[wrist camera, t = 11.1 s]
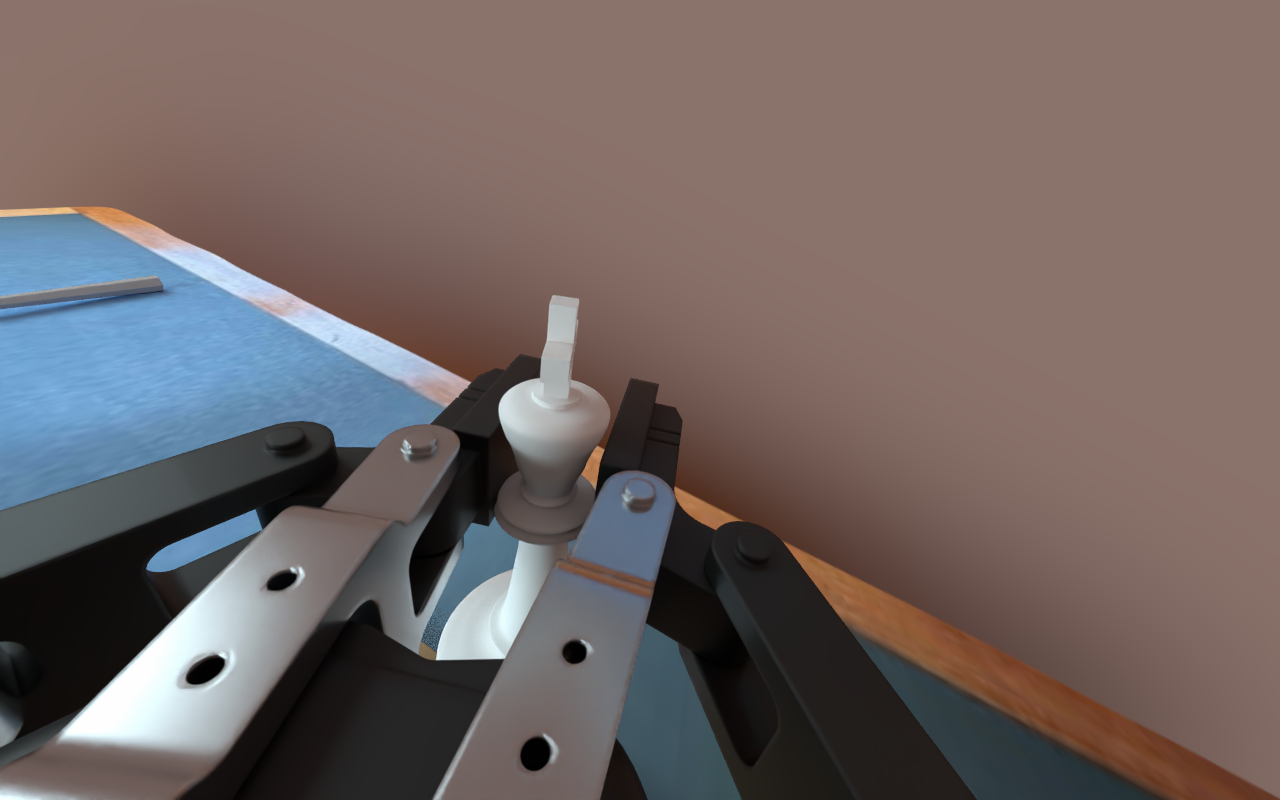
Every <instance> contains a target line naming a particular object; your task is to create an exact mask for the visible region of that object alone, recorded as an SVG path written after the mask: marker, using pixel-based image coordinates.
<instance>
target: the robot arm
mask: <svg viewBox="0 0 1280 800" xmlns="http://www.w3.org/2000/svg"><path fill="white" fill-rule="evenodd" d="M540 371H541V358H537V357H532V356H527V355H523V354H520V355H519V356H518V357H517V358H516V359H515V360H514V361H513V362H512V363H511V364H510V366H509V367H508V368H507V369H506V370H501V369H493V370H491V371H489V372H486V373H484V374H482V375H479V376H478V377H477V378H476V379H475V380H474V381H473V382H472V383H471V384H470V385H469V386H468V389H465V390H464V391H463V392H462V393H461V394H460V395H459V398H456V399H455V400H454V401H453V402H452V403H451V404H450V405H449V406H448V407H447V408H446V409H445V410H444V411H443V412H442V413H441V414H440V415H439V416H438V417H437V418H436V419H435V420H434V421H433V422H432V423H431V424H430V425H427V424H423V425H413V426H408V427H405V428H402V429H399V430H396V431H394V432H392V433H391V434H389V435H388V436H387V437H385V438H384V439H383V440H382V441H381V443H380V444H379V445H378V446H377V447H373V448H362V447H336V446H335V441H334V436H333V433H332V431H331V430H330V429H329V428H327V427H326V426H324V425H322V424H318V423H314V422H305V421H296V422H286V423H281V424H276V425H272V426H269V427H266V428H262V429H259V430H256V431H253V432H250V433H246V434H243V435H240V436H237V437H234V438H230V439H227V440H224V441H221V442H218V443H215V444H211V445H208V446H205V447H202V448H199V449H195V450H192V451H189V452H186V453H183V454H179V455H176V456H173V457H170V458H167V459H163V460H160V461H157V462H154V463H151V464H147V465H144V466H141V467H138V468H135V469H131V470H128V471H125V472H122V473H119V474H116V475H112V476H109V477H106V478H103V479H100V480H96V481H93V482H90V483H87V484H84V485H80V486H77V487H74V488H71V489H68V490H64V491H61V492H58V493H55V494H52V495H48V496H45V497H42V498H39V499H36V500H32V501H29V502H26V503H23V504H20V505H17V506H13V507H10V508H7V509H4V510H1V511H0V800H648V799H647V796H646V794H645V791H644V789H643V787H642V784H641V782H640V779H639V777H638V775H637V773H636V770H635V768H634V766H633V764H632V762H631V761H630V759H629V757H628V755H627V754H626V752H625V750H624V748H623V747H622V745H621V744H620V742H619V741H618V740H617V738H616V735H617V731H618V728H619V724H620V720H621V716H622V712H623V708H624V704H625V700H626V697H627V693H628V689H629V685H630V681H631V677H632V673H633V670H634V666H635V662H636V658H637V654H638V650H639V646H640V642H641V639H642V635H643V631H644V627H645V623H647V624H648V625H650V626H652V627H653V628H655V629H657V630H658V631H660V632H662V633H663V634H665V635H666V636H668V637H670V638H671V639H673V640H675V641H676V642H678V647H679V651H680V654H681V657H682V659H683V662H684V664H685V666H686V669H687V671H688V674H689V676H690V678H691V681H692V683H693V685H694V688H695V690H696V692H697V695H698V697H699V700H700V702H701V704H702V707H703V709H704V711H705V714H706V716H707V718H708V721H709V723H710V726H711V728H712V730H713V733H714V735H715V737H716V740H717V742H718V744H719V747H720V749H721V752H722V754H723V756H724V759H725V761H726V763H727V766H728V768H729V770H730V773H731V775H732V778H733V780H734V782H735V785H736V787H737V789H738V792H739V794H740V796H741V799H742V800H977V799H976V798H975V797H974V795H973V794H972V793H971V791H970V790H969V789H968V787H967V786H966V785H965V783H964V782H963V781H962V779H961V778H960V777H959V775H958V774H957V773H956V771H955V770H954V769H953V767H952V766H951V765H950V763H949V762H948V761H947V759H946V758H945V757H944V755H943V754H942V753H941V751H940V750H939V749H938V747H937V746H936V745H935V743H934V742H933V741H932V739H931V738H930V737H929V735H928V734H927V733H926V731H925V730H924V729H923V727H922V726H921V725H920V723H919V722H918V721H917V719H916V718H915V717H914V715H913V714H912V713H911V711H910V710H909V709H908V708H907V706H906V705H905V704H904V702H903V701H902V700H901V698H900V697H899V696H898V694H897V693H896V692H895V690H894V689H893V688H892V686H891V685H890V684H889V682H888V681H887V680H886V678H885V677H884V676H883V674H882V673H881V672H880V670H879V669H878V668H877V666H876V665H875V664H874V662H873V661H872V660H871V658H870V657H869V656H868V654H867V653H866V652H865V650H864V649H863V648H862V646H861V645H860V644H859V642H858V641H857V640H856V638H855V637H854V636H853V634H852V633H851V632H850V630H849V629H848V628H847V626H846V625H845V624H844V622H843V621H842V620H841V618H840V617H839V616H838V614H837V613H836V612H835V610H834V609H833V608H832V606H831V605H830V604H829V602H828V601H827V600H826V598H825V597H824V596H823V594H822V593H821V592H820V590H819V589H818V588H817V586H816V585H815V584H814V582H813V581H812V580H811V578H810V577H809V576H808V575H807V573H806V572H805V571H804V569H803V568H802V567H801V565H800V564H799V563H798V561H797V560H796V559H795V557H794V556H793V555H792V553H791V552H790V551H789V549H788V548H787V547H786V545H785V544H784V543H783V542H782V541H781V540H780V539H779V538H778V537H777V536H776V535H774V534H773V533H772V532H770V531H769V530H767V529H765V528H763V527H761V526H759V525H756V524H753V523H749V522H743V521H735V522H729V523H726V524H724V525H722V526H720V527H719V528H718V529H717V530H714V529H712V528H710V527H708V526H706V525H704V524H702V523H700V522H699V521H697V520H695V519H694V518H692V517H691V516H689V515H688V514H687V513H686V512H685V511H684V510H683V509H682V507H681V506H680V505H679V503H678V502H677V499H676V497H675V493H674V486H675V478H676V469H677V461H678V453H679V445H680V437H681V436H680V435H681V428H682V419H681V417H680V415H679V413H678V412H677V410H676V408H675V407H670V406H665V405H661V404H657V403H655V401H656V396H657V391H658V386H659V384H656V383H652V382H647V381H642V380H638V379H633V378H631V379H630V381H629V384H628V387H627V390H626V392H625V395H624V398H623V401H622V403H621V406H620V410H619V412H618V415H617V417H616V420H615V423H614V426H613V429H612V431H611V434H610V437H609V439H608V442H607V445H606V448H605V451H604V453H603V456H602V459H601V462H600V467H599V473H598V480H597V486H596V493H595V499H594V504H593V506H592V508H591V510H590V512H589V514H588V517H587V519H586V521H585V523H584V525H583V527H582V529H581V531H580V533H579V535H578V537H577V539H576V541H575V543H574V545H573V547H572V549H571V551H570V553H569V555H568V557H567V558H566V559H563V558H559V559H558V560H557V561H556V562H555V563H554V565H553V567H552V568H551V570H550V572H549V574H548V576H547V578H546V580H545V582H544V584H543V586H542V587H541V589H540V591H539V593H538V595H537V597H536V599H535V601H534V603H533V605H532V607H531V609H530V611H529V613H528V615H527V617H526V618H525V620H524V622H523V624H522V626H521V628H520V630H519V632H518V634H517V636H516V638H515V640H514V642H513V644H512V646H511V648H510V649H509V651H508V653H507V655H506V657H505V659H467V660H430V659H426V658H424V657H422V656H420V655H419V650H420V644H421V639H422V636H423V633H424V630H425V628H426V625H427V623H428V621H429V619H430V617H431V615H432V613H433V611H434V609H435V606H436V604H437V602H438V600H439V598H440V596H441V594H442V592H443V590H444V588H445V586H446V584H447V582H448V580H449V577H450V575H451V573H452V571H453V569H454V567H455V565H456V563H457V561H458V559H459V557H460V555H461V553H462V550H463V547H464V534H465V532H466V531H467V529H468V527H469V526H470V524H471V523H476V524H481V525H485V526H489V525H490V523H491V521H492V520H493V518H494V516H495V514H494V506H495V504H496V502H497V496H498V493H499V491H500V489H501V487H502V485H503V484H504V482H505V481H506V480H507V479H508V478H509V477H510V476H511V475H513V474H514V473H516V472H518V471H519V469H518V467H517V464H516V460H515V456H514V453H513V450H512V448H511V445H510V443H509V441H508V440H507V438H506V436H505V433H504V431H503V428H502V425H501V422H500V418H499V403H500V401H501V399H502V397H503V396H504V394H505V393H506V392H507V391H508V390H509V389H511V388H512V387H514V386H516V385H518V384H520V383H522V382H525V381H528V380H531V379H536V378H540ZM254 509H256V512H257V515H258V518H259V521H260V524H261V527H262V529H263V530H262V531H259V532H257V533H255V534H253V535H250V536H248V537H246V538H244V539H242V540H239V541H237V542H235V543H233V544H230V545H228V546H226V547H224V548H222V549H219V550H217V551H215V552H213V553H210V554H208V555H206V556H204V557H202V558H199V559H197V560H195V561H193V562H190V563H188V564H186V565H184V566H181V567H179V568H177V569H174V570H171V571H167V572H151V571H148V570H147V569H146V567H147V564H148V562H149V561H150V559H151V558H152V557H153V556H154V555H155V554H156V553H157V552H158V551H160V550H161V549H163V548H164V547H166V546H168V545H170V544H172V543H175V542H177V541H180V540H182V539H184V538H187V537H189V536H192V535H194V534H196V533H199V532H201V531H204V530H206V529H208V528H211V527H213V526H216V525H218V524H220V523H223V522H225V521H228V520H230V519H232V518H235V517H237V516H240V515H242V514H244V513H247V512H249V511H252V510H254Z"/></svg>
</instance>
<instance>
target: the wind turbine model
mask: <svg viewBox="0 0 1280 800" xmlns="http://www.w3.org/2000/svg"><path fill="white" fill-rule="evenodd" d="M155 291H163V284H162V283H161V281H160V279H159V278H158V277H157V276H148V277H140V278H133V279H125V280H118V281H110V282H103V283H95V284H88V285H80V286H73V287H65V288H58V289H50V290H43V291H35V292H28V293H20V294H13V295H6V296H0V309H6V308H15V307H24V306H32V305H41V304H50V303H59V302H67V301H76V300H85V299H93V298H102V297H111V296H120V295H128V294H137V293H146V292H155Z"/></svg>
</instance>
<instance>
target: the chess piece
mask: <svg viewBox="0 0 1280 800" xmlns="http://www.w3.org/2000/svg"><path fill="white" fill-rule="evenodd" d="M578 308H579V299H576V298H569V297H563V296H556V295H553V296H552V299H551V302H550V305H549V318H548V333H547V342H546V345H545V348H544V351H543V355H542V357H541V371H540V378H536V379H531V380H528V381H525V382H522V383H520V384H518V385H516V386H514V387H512V388H511V389H509V390H508V391H507V392H506V393H505V394H504V396H503V397H502V399H501V401H500V403H499V418H500V422H501V425H502V428H503V431H504V433H505V436H506V438H507V440H508V441H509V443H510V445H511V448H512V450H513V453H514V456H515V460H516V464H517V467H518V469H519V471H518V472H516V473H514V474H513V475H511V476H510V477H509V478H508V479H507V480H506V481H505V482H504V484H503V485H502V487H501V489H500V491H499V493H498V496H497V502H496V504H495V506H494V514H495V517H496V520H497V522H498V523H499V525H500V526H501V527H502V529H503V530H504V531H505V532H507V533H508V534H509V535H511V536H512V537H514V538H516V539H518V540H519V545H518V551H517V555H516V559H515V564H514V569H513V570H510V571H507V572H504V573H501V574H499V575H497V576H495V577H493V578H491V579H489V580H487V581H486V582H484V583H482V584H481V585H479V586H478V587H477V588H475V589H474V590H473V591H472V592H471V593H470V594H468V595H467V596H466V597H465V598H464V599H463V600H462V602H461V603H460V604H459V605H458V606H457V608H456V609H455V610H454V612H453V613H452V615H451V616H450V618H449V620H448V621H447V623H446V625H445V627H444V630H443V632H442V635H441V638H440V641H439V645H438V650H437V657H436V660H467V659H505V657H506V655H507V653H508V651H509V649H510V648H511V646H512V644H513V642H514V640H515V638H516V636H517V634H518V632H519V630H520V628H521V626H522V624H523V622H524V620H525V618H526V617H527V615H528V613H529V611H530V609H531V607H532V605H533V603H534V601H535V599H536V597H537V595H538V593H539V591H540V589H541V587H542V586H543V584H544V582H545V580H546V578H547V576H548V574H549V572H550V570H551V568H552V567H553V565H554V563H555V562H556V561H557V560H558V559H559V558H563V559H566V558H567V557H568V542H570V541H572V540H574V539H577V537H578V535H579V533H580V531H581V529H582V527H583V525H584V523H585V521H586V519H587V517H588V514H589V512H590V510H591V508H592V506H593V504H594V499H595V490H594V488H593V486H592V485H591V483H590V482H589V481H588V480H587V479H586V478H585V477H584V476H582V475H581V473H582V472H583V470H584V468H585V466H586V463H587V461H588V459H589V457H590V455H591V454H592V452H593V450H594V449H595V448H596V446H597V445H598V444H599V442H600V441H601V439H602V437H603V435H604V433H605V431H606V429H607V427H608V424H609V420H610V409H609V406H608V404H607V402H606V401H605V399H604V398H603V397H602V396H601V395H600V394H599V393H598V392H597V391H595V390H594V389H592V388H591V387H589V386H587V385H585V384H583V383H580V382H577V381H573V380H571V375H572V366H573V356H574V351H575V346H576V340H577V331H578V320H577V316H578Z"/></svg>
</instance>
